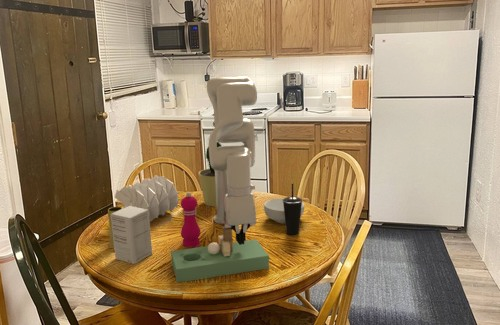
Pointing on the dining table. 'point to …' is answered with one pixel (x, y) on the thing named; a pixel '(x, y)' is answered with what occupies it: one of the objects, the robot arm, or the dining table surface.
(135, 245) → the supplement box
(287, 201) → the drinking cup
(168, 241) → the dining table surface
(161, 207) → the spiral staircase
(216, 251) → the ball
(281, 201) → the cereal bowl
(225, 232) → the stacked wooden blocks
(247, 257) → the putting mat
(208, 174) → the potted cactus
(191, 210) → the pepper mill
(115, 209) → the vase
